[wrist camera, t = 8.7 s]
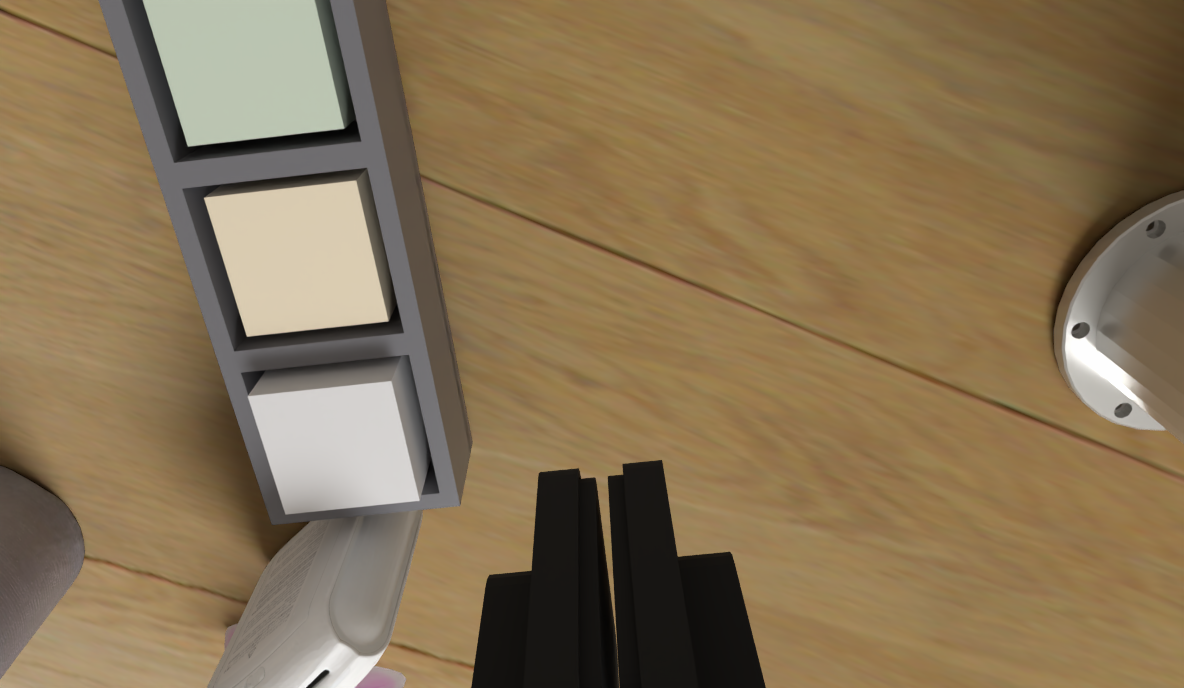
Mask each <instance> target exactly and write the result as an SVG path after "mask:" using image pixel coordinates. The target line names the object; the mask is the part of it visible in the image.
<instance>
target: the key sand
mask: <svg viewBox="0 0 1184 688" xmlns="http://www.w3.org/2000/svg"><path fill="white" fill-rule="evenodd" d="M204 200H205V203H206V206H207V209H208V213H209V216H210V219H211V222H212V226H213V229H214V232H215V235H216V238H217V242H218V245H219V248H220V251H221V255H222V258H223V261H224V264H225V268H226V271H227V274H228V277H229V280H230V284H231V287H232V290H233V293H234V297H235V300H236V303H237V306H238V309H239V313H240V316H241V319H242V322H243V326H244V329H245V332H246V335H247V337H249V336H258V335H267V334H277V333H286V332H295V331H304V330H314V329H323V328H332V327H341V326H350V325H360V324H369V323H378V322H387V321H389V319H390V317H391V315H392V313H393V311H394V309H395V307H396V304H397V299H396V295H395V290H394V286H393V281H392V277H391V272H390V268H389V263H388V259H387V254H386V250H385V245H384V241H383V236H382V232H381V227H380V223H379V218H378V214H377V209H376V205H375V200H374V196H373V191H372V187H371V182H370V178H369V173H368V169H367V168H360V169H351V170H342V171H334V172H325V173H316V174H307V175H298V176H289V177H281V178H272V179H263V180H254V181H245V182H236V183H228V184H222V185H221V186H219V187H218V188H217V189H215V190H214V191H213V192H211V193H210V194H208V195H207V196H206V197H204Z"/></svg>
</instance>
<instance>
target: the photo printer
mask: <svg viewBox="0 0 1184 688" xmlns="http://www.w3.org/2000/svg"><path fill="white" fill-rule="evenodd" d="M422 516H423V511H422V510H415V511H405V512H395V513H385V514H376V515H366V516H356V517H346V518H337V519H327V520H317V521H311V522H309V523H308V524H307V525H306V526H305V527H304V528H303V529H302V530H301V531H299V532H298V533H297V534H296V535H295V536H294V537H293V538H292V539H291V540H290V541H289V542H288V543H287V544H286V545H284V546H283V547H282V548H281V549H280V550H279V552H278V553H277V554H276V555H275V556H274V557H273V558H272V560H271V561H270V562H269V564H268V565H267V566H266V568H265V570H264V571H263V573H262V575H261V577H260V579H259V581H258V583H257V585H256V587H255V589H254V591H253V593H252V595H251V598H250V600H249V602H248V604H247V606H246V608H245V610H244V612H243V614H242V616H241V618H240V620H239V623H238V625H237V627H236V629H235V631H234V633H233V635H232V637H231V639H230V641H229V643H228V645H227V647H226V649H225V651H224V654H223V656H222V658H221V660H220V662H219V664H218V666H217V668H216V670H215V672H214V674H213V676H212V678H211V680H210V682H209V684H208V686H207V688H355V687H356V686H357V685H358V684H359V683H360V682H361V681H362V680H363V678H364V677H365V676H366V675H367V674H368V673H369V672H370V670H371V669H372V668H373V667H374V666H375V664H376V663H377V661H378V660H379V659H380V657H381V656H382V654H383V653H384V651H385V649H386V648H387V646H388V644H389V642H390V639H391V636H392V632H393V629H394V625H395V621H396V618H397V614H398V610H399V606H400V603H401V599H402V595H403V591H404V587H405V584H406V580H407V576H408V573H409V569H410V565H411V561H412V557H413V553H414V549H415V545H416V542H417V538H418V534H419V530H420V526H421V522H422Z"/></svg>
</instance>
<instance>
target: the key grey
mask: <svg viewBox="0 0 1184 688" xmlns="http://www.w3.org/2000/svg"><path fill="white" fill-rule="evenodd" d="M248 399H249V402H250V405H251V408H252V411H253V415H254V418H255V421H256V424H257V427H258V430H259V433H260V436H261V440H262V443H263V446H264V449H265V452H266V455H267V458H268V461H269V465H270V468H271V471H272V474H273V477H274V480H275V483H276V486H277V490H278V493H279V496H280V499H281V502H282V505H283V508H284V511H285V515H286V514H296V513H306V512H315V511H325V510H335V509H345V508H354V507H364V506H374V505H384V504H393V503H403V502H413V501H420V498H421V494H422V490H423V487H424V483H425V479H426V475H427V472H428V468H429V464H430V460H431V457H432V456H431V452H430V447H429V443H428V438H427V434H426V429H425V425H424V420H423V416H422V411H421V407H420V402H419V398H418V393H417V389H416V384H415V380H414V375H413V371H412V366H411V362H410V357H409V355H401V356H392V357H382V358H373V359H364V360H354V361H345V362H336V363H326V364H317V365H308V366H298V367H289V368H280V369H270V370H266V371H265V372H264V374H263V375H262V377H261V378H260V379H259V381H258V382H257V384H256V385H255V387H254V388H253V389H252V391H251V392H250V394H249V395H248Z"/></svg>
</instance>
